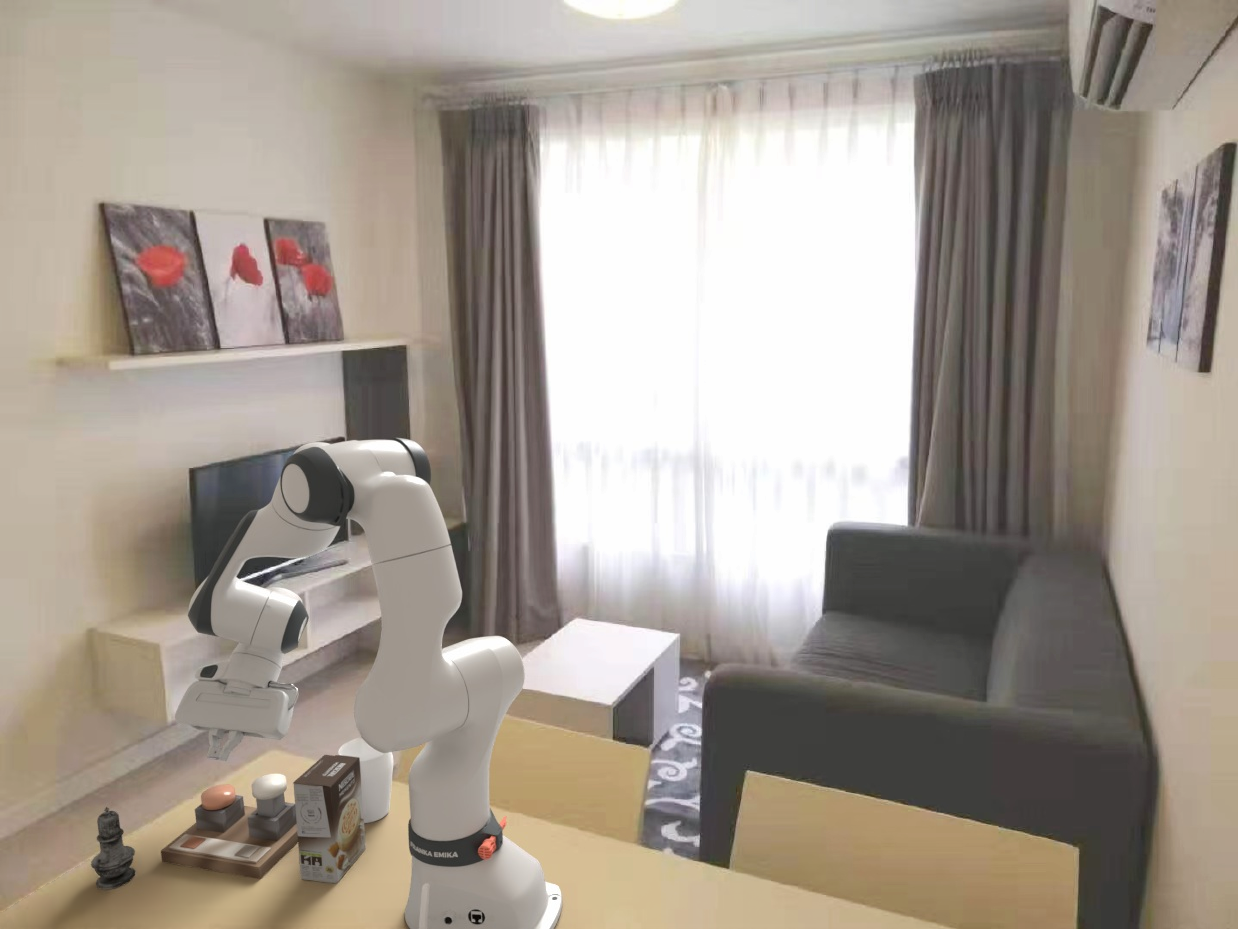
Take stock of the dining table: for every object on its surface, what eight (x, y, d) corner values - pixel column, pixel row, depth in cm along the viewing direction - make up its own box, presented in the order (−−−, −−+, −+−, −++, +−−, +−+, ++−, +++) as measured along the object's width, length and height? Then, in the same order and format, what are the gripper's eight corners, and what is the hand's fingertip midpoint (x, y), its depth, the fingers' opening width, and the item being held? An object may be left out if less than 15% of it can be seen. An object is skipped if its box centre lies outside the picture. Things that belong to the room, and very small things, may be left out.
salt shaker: (118, 893, 132) (108, 820, 129) (84, 888, 133) (74, 816, 131) (146, 868, 137) (137, 798, 135) (113, 864, 138) (104, 794, 136)
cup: (381, 792, 158) (376, 730, 156) (406, 812, 151) (401, 748, 149) (333, 812, 152) (328, 748, 150) (357, 834, 145) (352, 767, 143)
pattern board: (313, 826, 148) (311, 797, 147) (260, 879, 134) (257, 846, 133) (222, 813, 152) (219, 783, 151) (161, 862, 139) (158, 830, 138)
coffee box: (338, 885, 133) (330, 787, 130) (299, 880, 134) (291, 783, 131) (367, 848, 141) (360, 756, 139) (331, 844, 143) (323, 753, 140)
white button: (295, 804, 145) (292, 775, 144) (275, 822, 140) (272, 792, 139) (267, 800, 146) (265, 772, 145) (247, 818, 141) (244, 788, 140)
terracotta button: (244, 814, 148) (242, 786, 147) (223, 832, 143) (220, 803, 142) (218, 810, 149) (215, 782, 148) (196, 828, 144) (193, 799, 143)
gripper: (310, 691, 152) (280, 772, 144) (210, 680, 157) (176, 758, 149) (292, 677, 147) (260, 760, 139) (189, 667, 152) (153, 746, 144)
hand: (215, 759), depth 144 cm, fingers closed
